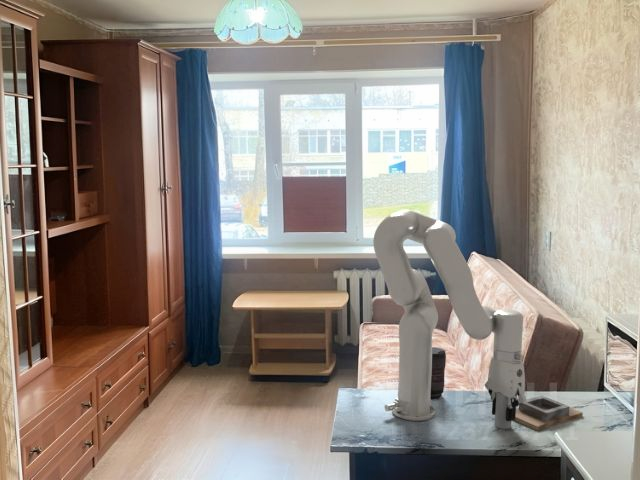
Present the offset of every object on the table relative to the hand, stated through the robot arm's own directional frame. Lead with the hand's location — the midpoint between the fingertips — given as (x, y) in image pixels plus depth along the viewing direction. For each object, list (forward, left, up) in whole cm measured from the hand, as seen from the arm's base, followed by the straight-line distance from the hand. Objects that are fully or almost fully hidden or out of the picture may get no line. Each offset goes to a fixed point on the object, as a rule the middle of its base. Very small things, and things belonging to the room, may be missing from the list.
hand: (503, 416), depth 192 cm
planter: (0, 0, -3) cm, 3 cm away
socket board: (+16, -1, -3) cm, 16 cm away
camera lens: (-2, +28, -3) cm, 28 cm away
